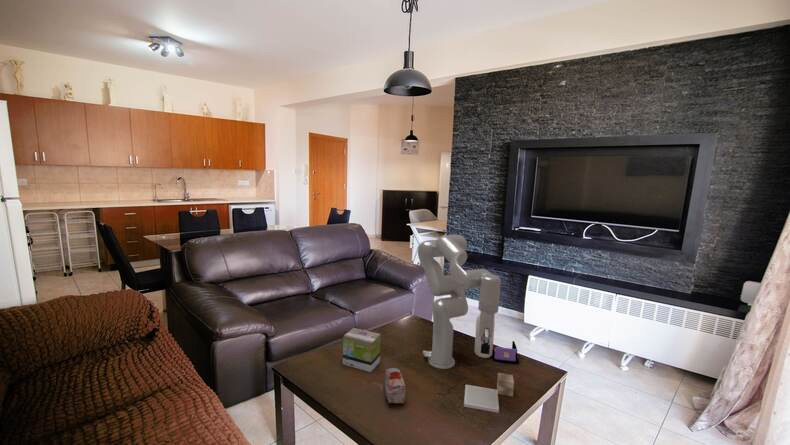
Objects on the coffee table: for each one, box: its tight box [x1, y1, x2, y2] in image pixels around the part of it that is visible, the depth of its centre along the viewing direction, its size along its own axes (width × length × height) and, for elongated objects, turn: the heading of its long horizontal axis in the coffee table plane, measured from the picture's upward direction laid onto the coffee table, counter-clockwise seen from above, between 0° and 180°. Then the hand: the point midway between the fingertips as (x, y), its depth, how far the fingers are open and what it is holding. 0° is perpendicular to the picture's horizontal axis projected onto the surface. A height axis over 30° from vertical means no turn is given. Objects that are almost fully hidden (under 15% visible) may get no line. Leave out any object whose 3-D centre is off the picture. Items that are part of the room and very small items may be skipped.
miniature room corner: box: [491, 340, 519, 365], centre depth 173 cm, size 12×12×7 cm
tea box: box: [342, 327, 382, 373], centre depth 161 cm, size 15×10×15 cm, turn 68°
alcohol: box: [474, 314, 496, 359], centre depth 173 cm, size 9×9×30 cm
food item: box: [383, 367, 407, 404], centre depth 139 cm, size 14×8×10 cm, turn 12°
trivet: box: [463, 384, 500, 414], centre depth 139 cm, size 13×13×1 cm
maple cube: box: [496, 372, 515, 397], centre depth 145 cm, size 6×6×6 cm
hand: (484, 347), depth 137 cm, fingers open, 9 cm apart
